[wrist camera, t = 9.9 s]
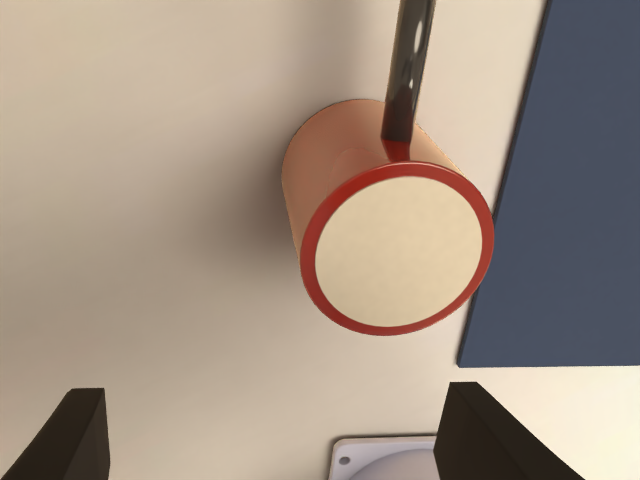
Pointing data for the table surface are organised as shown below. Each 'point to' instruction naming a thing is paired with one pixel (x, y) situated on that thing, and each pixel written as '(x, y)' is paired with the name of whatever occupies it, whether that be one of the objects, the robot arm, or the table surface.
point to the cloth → (569, 203)
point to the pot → (385, 205)
